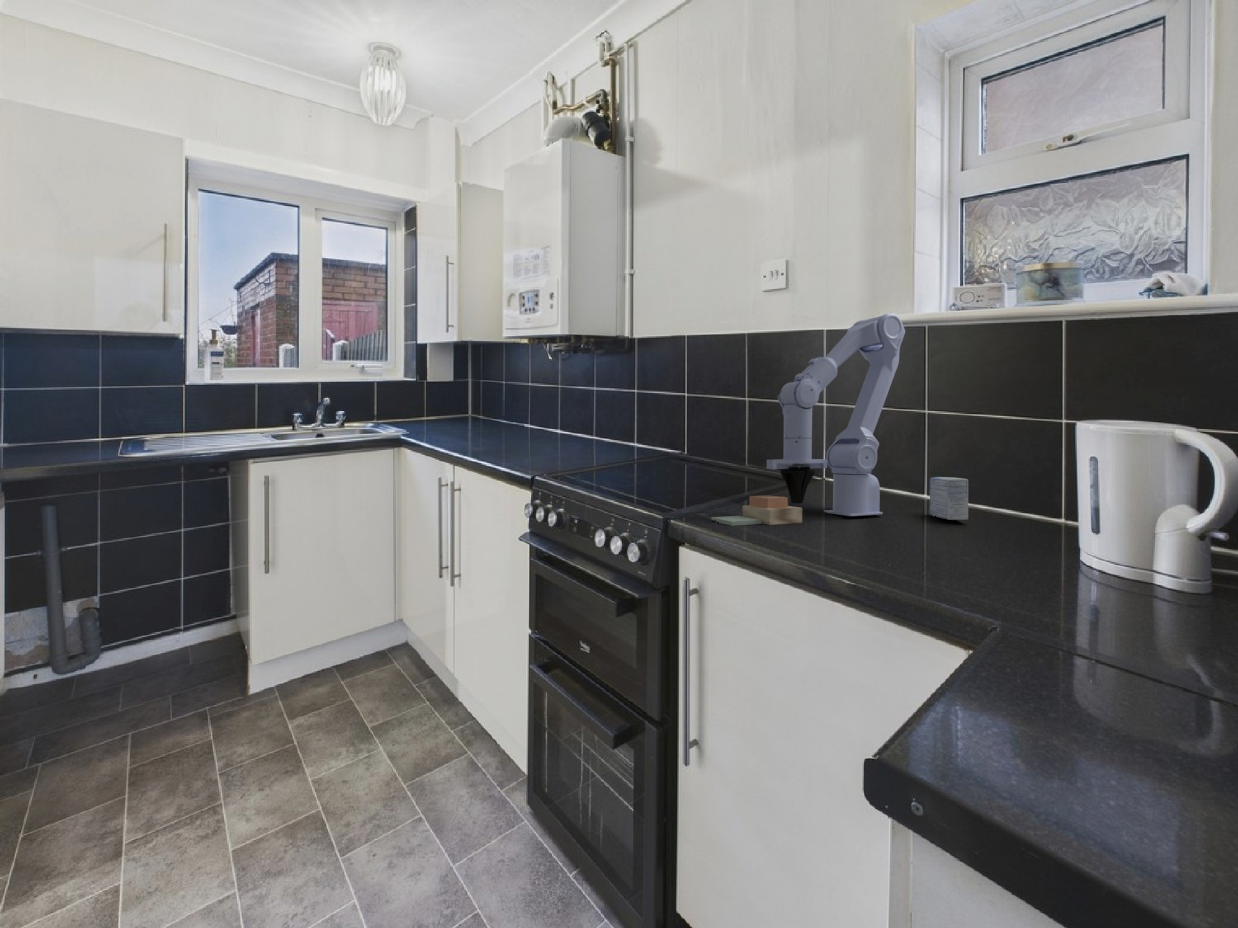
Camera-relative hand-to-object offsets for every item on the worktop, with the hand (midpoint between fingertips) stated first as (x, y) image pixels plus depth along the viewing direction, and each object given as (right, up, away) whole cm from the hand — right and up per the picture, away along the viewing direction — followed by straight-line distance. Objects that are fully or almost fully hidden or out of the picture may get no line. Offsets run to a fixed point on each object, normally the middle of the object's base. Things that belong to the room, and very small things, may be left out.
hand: (796, 503), depth 128 cm
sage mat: (-14, -4, -5) cm, 15 cm away
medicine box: (+34, -4, +3) cm, 34 cm away
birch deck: (-6, -4, -3) cm, 8 cm away
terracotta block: (-7, -1, -3) cm, 8 cm away
